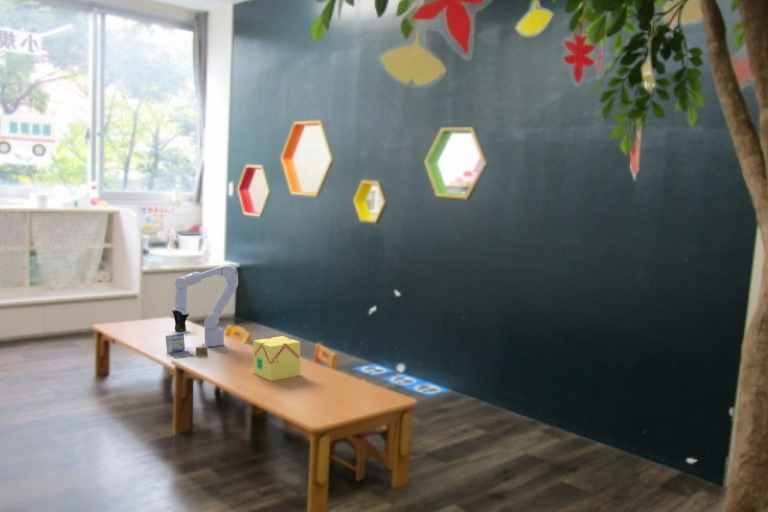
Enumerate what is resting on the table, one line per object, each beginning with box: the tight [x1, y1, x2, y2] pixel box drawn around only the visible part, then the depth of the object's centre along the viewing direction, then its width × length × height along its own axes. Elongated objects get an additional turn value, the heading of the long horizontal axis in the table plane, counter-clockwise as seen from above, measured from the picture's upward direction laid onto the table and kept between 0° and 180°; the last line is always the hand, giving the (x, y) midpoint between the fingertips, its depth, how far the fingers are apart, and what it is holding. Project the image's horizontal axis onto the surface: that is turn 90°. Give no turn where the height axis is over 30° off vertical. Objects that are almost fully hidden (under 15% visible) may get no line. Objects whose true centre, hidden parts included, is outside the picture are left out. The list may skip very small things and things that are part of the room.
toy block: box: [252, 335, 301, 382], centre depth 286 cm, size 15×15×15 cm
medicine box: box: [165, 332, 186, 354], centre depth 324 cm, size 8×4×9 cm, turn 143°
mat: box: [169, 350, 194, 358], centre depth 318 cm, size 9×10×1 cm
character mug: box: [170, 310, 190, 332], centre depth 373 cm, size 11×7×13 cm, turn 127°
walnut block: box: [195, 345, 209, 357], centre depth 318 cm, size 4×4×4 cm
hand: (179, 325), depth 337 cm, fingers open, 7 cm apart
